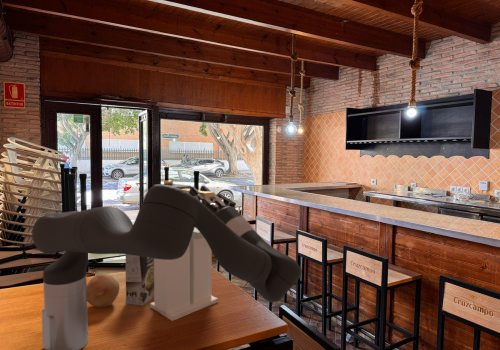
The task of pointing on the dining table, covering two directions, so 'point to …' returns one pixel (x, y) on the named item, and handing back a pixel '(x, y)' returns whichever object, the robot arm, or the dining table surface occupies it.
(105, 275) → the onion
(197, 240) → the stepped stand
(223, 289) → the dining table surface
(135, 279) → the coffee box
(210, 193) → the wooden handled tool
